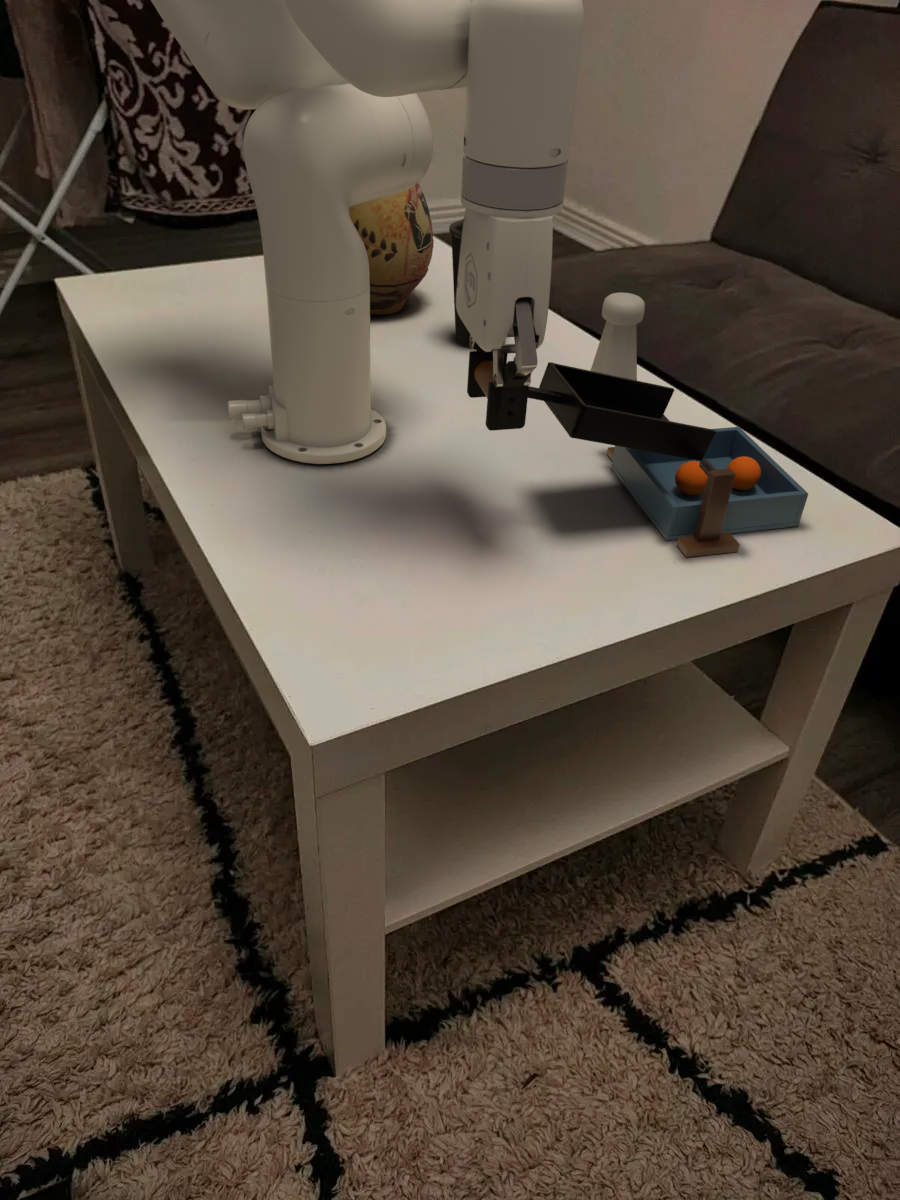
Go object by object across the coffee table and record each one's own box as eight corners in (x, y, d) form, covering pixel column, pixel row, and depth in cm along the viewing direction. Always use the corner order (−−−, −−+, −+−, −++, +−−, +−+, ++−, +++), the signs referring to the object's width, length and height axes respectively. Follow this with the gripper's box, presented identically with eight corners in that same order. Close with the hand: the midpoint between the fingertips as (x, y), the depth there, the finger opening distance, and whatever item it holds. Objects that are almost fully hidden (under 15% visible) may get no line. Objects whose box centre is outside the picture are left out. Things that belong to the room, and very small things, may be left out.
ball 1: (700, 506, 90) (677, 493, 89) (685, 489, 93) (663, 476, 91) (722, 479, 89) (699, 466, 88) (707, 463, 92) (684, 449, 90)
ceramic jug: (429, 328, 123) (438, 62, 105) (308, 322, 122) (296, 54, 104) (433, 282, 136) (441, 40, 118) (324, 277, 136) (315, 33, 118)
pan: (491, 423, 76) (503, 390, 75) (463, 377, 83) (474, 346, 82) (701, 461, 84) (716, 431, 82) (660, 416, 90) (673, 388, 89)
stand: (686, 557, 83) (703, 483, 79) (606, 454, 98) (617, 386, 93) (738, 551, 84) (758, 478, 80) (651, 450, 99) (664, 383, 94)
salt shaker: (632, 429, 102) (652, 309, 94) (578, 422, 103) (594, 303, 95) (634, 405, 107) (654, 290, 99) (583, 399, 108) (599, 284, 100)
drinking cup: (486, 358, 116) (498, 182, 104) (432, 342, 119) (438, 170, 107) (516, 338, 121) (531, 169, 109) (464, 324, 124) (473, 158, 112)
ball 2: (766, 461, 89) (768, 489, 91) (749, 445, 92) (751, 472, 94) (734, 474, 89) (737, 501, 91) (718, 457, 92) (721, 484, 94)
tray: (666, 540, 85) (673, 507, 83) (611, 468, 95) (616, 436, 93) (798, 526, 88) (808, 493, 86) (731, 457, 98) (739, 426, 96)
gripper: (436, 155, 76) (429, 371, 87) (495, 218, 62) (477, 464, 73) (527, 154, 77) (509, 367, 88) (603, 216, 64) (570, 457, 75)
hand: (495, 409), depth 81 cm, fingers closed on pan, 5 cm apart
